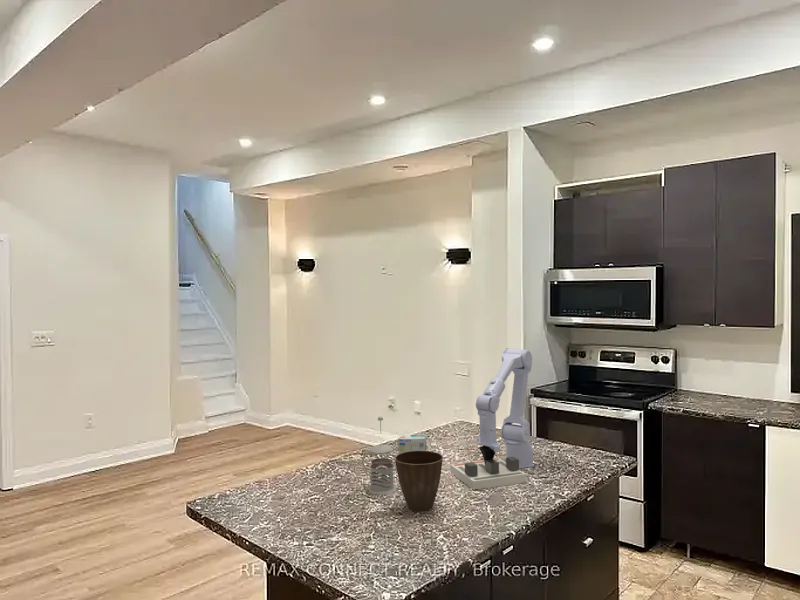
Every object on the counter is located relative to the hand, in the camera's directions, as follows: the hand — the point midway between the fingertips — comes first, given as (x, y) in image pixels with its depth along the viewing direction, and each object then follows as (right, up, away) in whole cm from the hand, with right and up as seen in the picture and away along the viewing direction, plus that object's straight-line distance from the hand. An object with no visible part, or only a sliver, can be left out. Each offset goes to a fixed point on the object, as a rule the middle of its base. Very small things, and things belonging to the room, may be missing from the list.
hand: (488, 466), depth 210 cm
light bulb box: (-26, -5, +20) cm, 34 cm away
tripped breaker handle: (+1, -1, -3) cm, 3 cm away
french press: (-38, -6, -8) cm, 39 cm away
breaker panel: (0, -4, +1) cm, 4 cm away
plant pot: (-25, -6, -26) cm, 36 cm away
